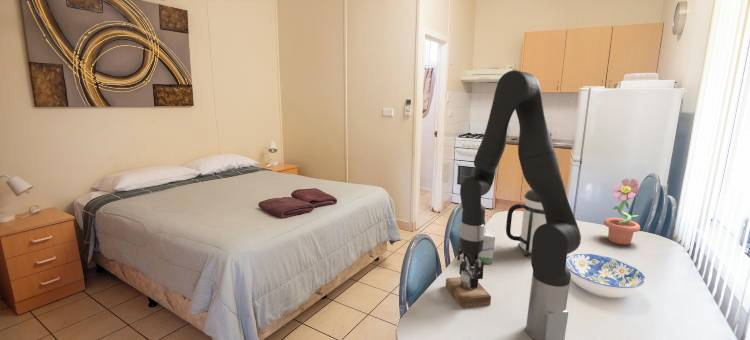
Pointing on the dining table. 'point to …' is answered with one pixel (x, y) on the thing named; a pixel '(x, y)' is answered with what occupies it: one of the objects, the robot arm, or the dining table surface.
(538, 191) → the robot arm
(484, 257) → the ink box
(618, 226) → the decorative flower
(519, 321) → the dining table surface
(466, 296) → the tray
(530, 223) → the coffee press
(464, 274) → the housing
